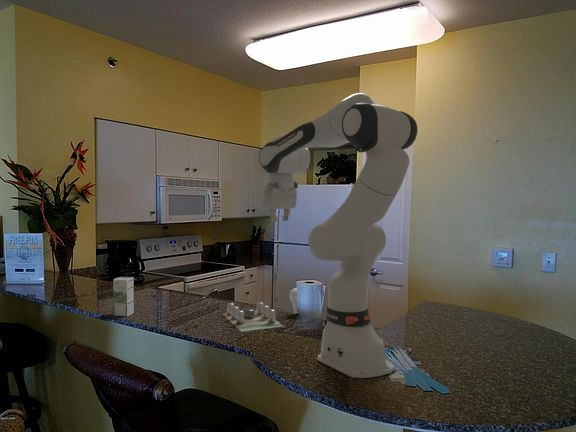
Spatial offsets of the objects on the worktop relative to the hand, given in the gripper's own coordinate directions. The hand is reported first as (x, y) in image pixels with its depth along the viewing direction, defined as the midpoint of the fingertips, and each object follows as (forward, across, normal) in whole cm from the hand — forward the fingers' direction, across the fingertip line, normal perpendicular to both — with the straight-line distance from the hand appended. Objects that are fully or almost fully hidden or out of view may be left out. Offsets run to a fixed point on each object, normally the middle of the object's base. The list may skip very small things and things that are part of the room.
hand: (279, 221), depth 150 cm
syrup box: (+39, -18, +58) cm, 72 cm away
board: (+38, -3, +9) cm, 39 cm away
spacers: (+37, -2, +10) cm, 38 cm away
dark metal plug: (+37, -1, +11) cm, 39 cm away
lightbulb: (+38, +12, -2) cm, 40 cm away
